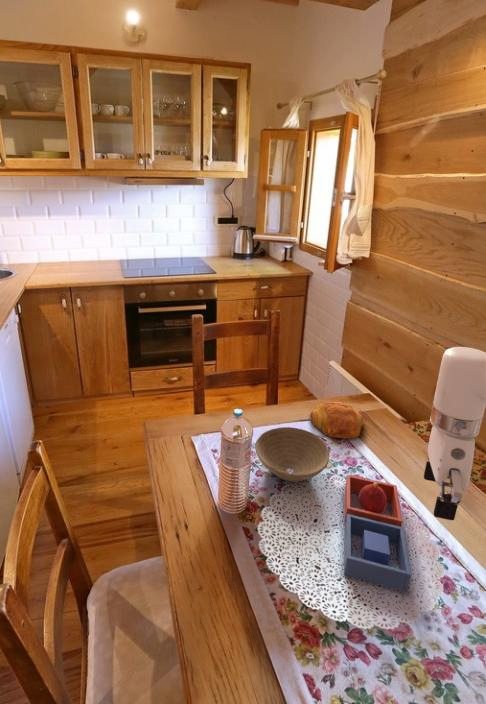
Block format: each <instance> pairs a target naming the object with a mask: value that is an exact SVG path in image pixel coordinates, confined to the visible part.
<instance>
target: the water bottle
mask: <svg viewBox="0 0 486 704" xmlns="http://www.w3.org/2000/svg"><path fill="white" fill-rule="evenodd" d="M232 412H233V414H232V415H231V416H229V417H227V419H225V420H224V422H222V424H221V427H220V453H219V462H218V463H219V464H218V488H217V491H218V492H217V505H218V507H219V509H220V510H221V511H223V512H224V513H226V514H229V515H238V514H241V513H243V512H244V511H246V509H247V507H248V503H249V493H250V492H249V491H250V478H251V477H250V476H251V467H252V465H251V464H252V459H251V458H252V457H251V456H252V445H253V444H252V443H253V437H254V427H253V425H252V423H251V421H250V420H248V418H246V417H245V416H243V410H242V409H241V408H236V409H234V410H233V411H232Z"/></svg>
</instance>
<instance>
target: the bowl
mask: <svg viewBox="0 0 486 704" xmlns="http://www.w3.org/2000/svg"><path fill="white" fill-rule="evenodd" d="M254 449H255V453H256V456H257V458H258V459H259V461H260V462H261V464H262V465H263V466H264V467H265V468H266V469H267V470H268V471H269V472H271V473H272V474H273V475H275V476H276V477H278V478H279V479H282V480H284V481H287V482H295V483H296V482H297V483H298V482H302V481H305V480H309V479H312V478H314V477H316V476H317V475H319V474H321V473H322V472H323V471H324V470H325V469H326V467H328V464H329V461H330V450H329V447H328V446H327V444H326V443H325V441H324V440H323V439H321V437H319V436H318V435H317V434H316V433H315V434H314V433H313V432H311V431H308V430H306V429H302V428H298V427H289V426H288V427H287V426H283V427H275V428H272V429H269V430H266V431H264V432H263V433H262V434H260V436H259V437H258V438H257V440H256V441H255V444H254ZM287 469H291V470H292V473H289V472H287V471H286V470H287Z"/></svg>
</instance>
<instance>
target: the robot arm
mask: <svg viewBox="0 0 486 704" xmlns="http://www.w3.org/2000/svg"><path fill="white" fill-rule="evenodd" d="M485 410H486V351H483V350H480V349H478V348H473V347H468V346H452V347H450V348H447V349H446V350H445V351H444V353H443V354H442V358H441V361H440V368H439V372H438V377H437V382H436V388H435V392H434V398H433V402H432V406H431V411H430V417H429V422H430V424H431V425H432V427H431V431H430V435H429V439H428V445H427V460H426V462H425V467H424V473H423V479H424V480H425V481H430V482H435V483H437V485H439V496H436V500H435V505H434V509H433V517H435V518H438V519H443V520H448V521H455V518H456V514H457V511H458V506H459V505H460V502H461V499H462V498H463V490H464V491H466V490H468V488H469V485H470V480H471V476H472V469H473V465H474V458H475V450H476V449H475V447H476V445H475V444H476V438H477V436H479V434H480V431H481V426H482V423H483V419H484V414H485ZM446 480H449V482H446ZM446 487H448V488H450V491H449V493H446Z"/></svg>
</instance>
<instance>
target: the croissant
mask: <svg viewBox="0 0 486 704" xmlns="http://www.w3.org/2000/svg"><path fill="white" fill-rule="evenodd" d="M309 415H310V418H311V423H312V425H314V428H317V429H318V430H321V431H322V433H324V435H325V436H327V437H330V438H335V439H355V438H357V437H359V436H361V435H360V434H361V430H362V427H363V424H364V418H363V415H362V414H361V413H360V412H359V411H358V410H357V409H355V408H354V407H353V406H352V405H351V404H348V403H344V402H340V401H334V402H333V401H327V402H321V403H318V405H316V406H315V407H314V408H313V410H311V412H310V414H309Z"/></svg>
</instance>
